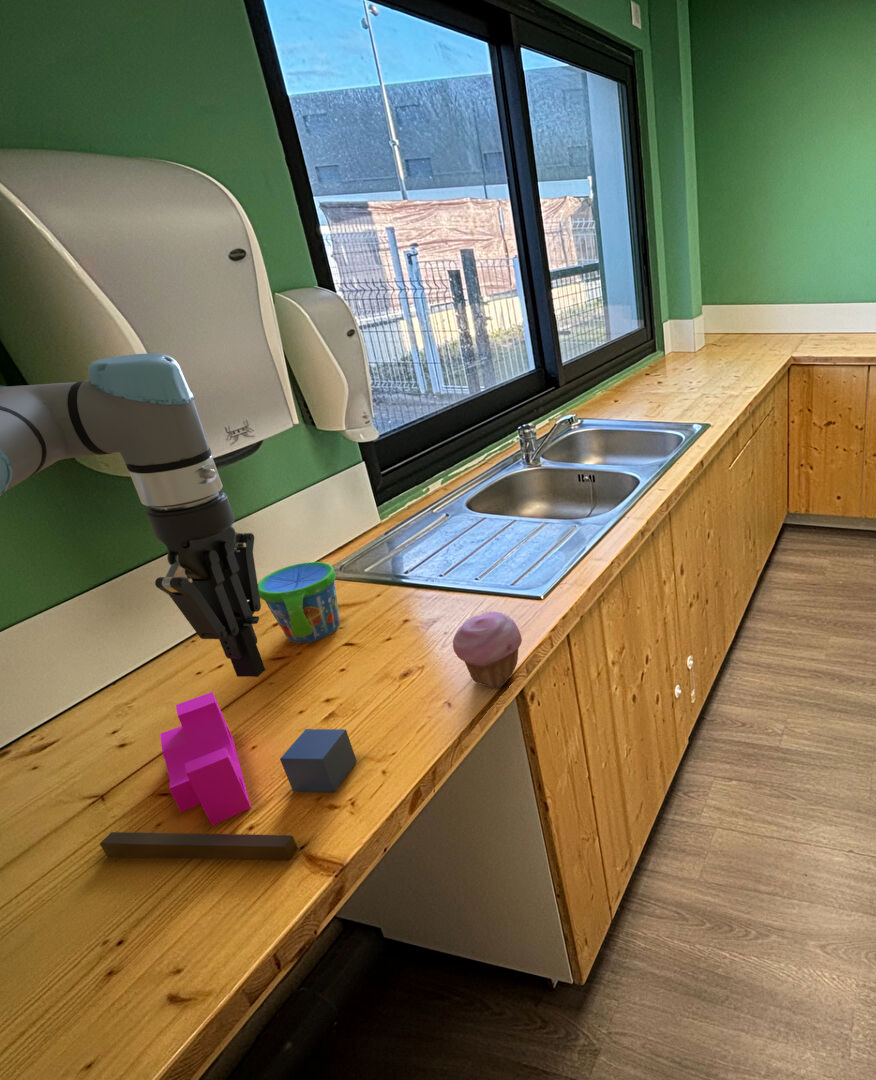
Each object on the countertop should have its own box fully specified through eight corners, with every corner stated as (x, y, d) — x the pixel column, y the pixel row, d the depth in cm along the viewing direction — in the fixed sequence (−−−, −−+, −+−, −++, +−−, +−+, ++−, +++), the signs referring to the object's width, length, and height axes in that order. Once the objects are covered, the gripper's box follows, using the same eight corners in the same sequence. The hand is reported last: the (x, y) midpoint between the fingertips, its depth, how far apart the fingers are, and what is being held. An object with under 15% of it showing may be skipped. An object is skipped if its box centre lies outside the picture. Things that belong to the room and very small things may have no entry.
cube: (292, 791, 81) (279, 758, 78) (317, 760, 85) (305, 728, 83) (334, 792, 80) (322, 759, 78) (357, 761, 85) (346, 729, 83)
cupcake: (450, 688, 97) (434, 627, 93) (493, 654, 104) (481, 596, 100) (499, 704, 93) (485, 642, 89) (540, 668, 100) (530, 609, 96)
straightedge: (107, 857, 73) (99, 843, 72) (119, 845, 74) (111, 831, 74) (289, 860, 72) (283, 846, 71) (298, 848, 73) (292, 834, 72)
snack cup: (289, 614, 117) (270, 560, 113) (357, 602, 120) (341, 549, 116) (265, 666, 104) (242, 607, 99) (342, 651, 106) (323, 594, 102)
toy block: (174, 762, 86) (150, 714, 83) (233, 739, 89) (212, 691, 86) (184, 837, 75) (157, 785, 72) (250, 807, 79) (228, 757, 75)
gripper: (172, 522, 71) (245, 707, 81) (256, 477, 83) (310, 644, 93) (103, 522, 72) (184, 706, 82) (196, 478, 84) (257, 643, 94)
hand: (251, 673), depth 87 cm, fingers closed
